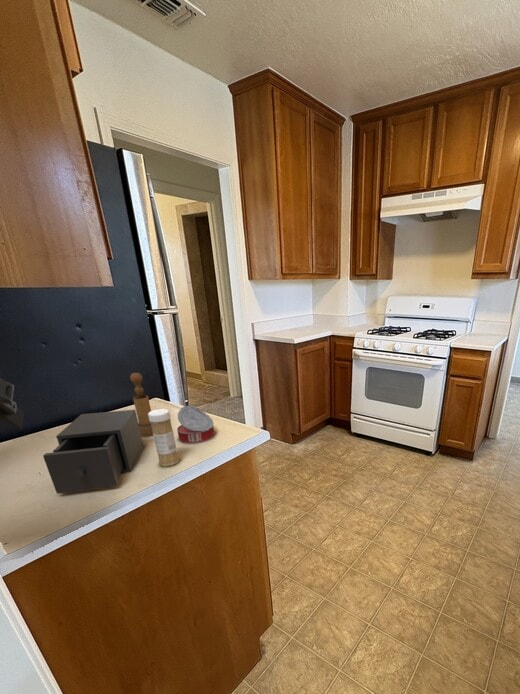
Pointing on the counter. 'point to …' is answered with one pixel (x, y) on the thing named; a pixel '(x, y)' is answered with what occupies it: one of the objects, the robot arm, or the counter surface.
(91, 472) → the pull-out drawer box
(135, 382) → the mortar and pestle
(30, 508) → the counter surface
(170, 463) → the sprinkles bottle
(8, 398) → the robot arm
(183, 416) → the canned food
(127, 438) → the small drawer cabinet
